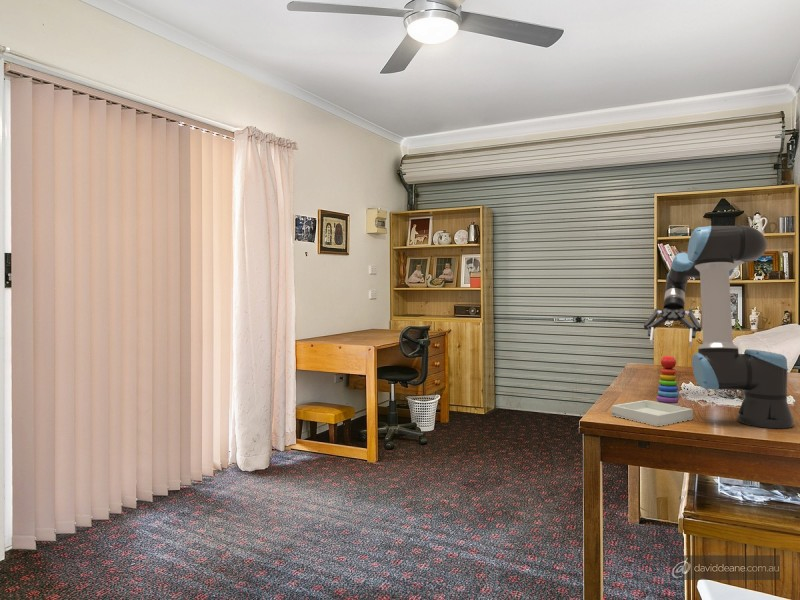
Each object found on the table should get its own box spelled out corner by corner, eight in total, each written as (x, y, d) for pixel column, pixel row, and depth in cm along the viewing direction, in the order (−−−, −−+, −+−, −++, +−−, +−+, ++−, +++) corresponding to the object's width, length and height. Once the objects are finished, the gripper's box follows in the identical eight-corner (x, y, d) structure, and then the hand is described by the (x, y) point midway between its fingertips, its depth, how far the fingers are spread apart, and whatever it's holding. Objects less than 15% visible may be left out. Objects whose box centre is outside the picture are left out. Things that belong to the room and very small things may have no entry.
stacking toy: (682, 409, 209) (682, 357, 208) (658, 408, 211) (658, 356, 210) (676, 404, 217) (676, 354, 216) (653, 404, 218) (653, 354, 218)
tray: (692, 419, 194) (692, 409, 193) (658, 426, 184) (658, 415, 184) (645, 409, 209) (645, 399, 209) (611, 415, 200) (611, 405, 200)
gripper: (709, 308, 232) (707, 350, 219) (641, 307, 244) (636, 347, 231) (709, 296, 227) (707, 338, 214) (640, 295, 239) (634, 335, 227)
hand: (670, 343), depth 223 cm, fingers open, 13 cm apart
